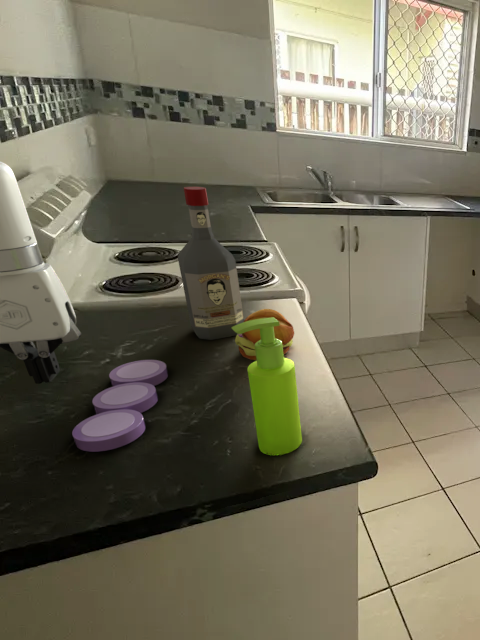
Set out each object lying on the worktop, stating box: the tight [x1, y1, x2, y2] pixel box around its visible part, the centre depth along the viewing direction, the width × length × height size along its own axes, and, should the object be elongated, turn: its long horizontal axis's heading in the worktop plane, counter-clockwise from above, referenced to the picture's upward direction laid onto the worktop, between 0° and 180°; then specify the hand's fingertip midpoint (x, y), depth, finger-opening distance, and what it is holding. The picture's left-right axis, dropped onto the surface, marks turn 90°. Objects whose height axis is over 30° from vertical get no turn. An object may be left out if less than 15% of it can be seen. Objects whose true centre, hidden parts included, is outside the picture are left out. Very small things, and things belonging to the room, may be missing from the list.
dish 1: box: [71, 409, 146, 453], centre depth 69 cm, size 8×8×2 cm
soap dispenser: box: [231, 317, 303, 456], centre depth 66 cm, size 6×7×20 cm
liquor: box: [177, 186, 245, 341], centre depth 97 cm, size 9×9×30 cm
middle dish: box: [92, 382, 159, 415], centre depth 76 cm, size 8×8×2 cm
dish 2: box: [108, 359, 169, 387], centre depth 83 cm, size 8×8×2 cm
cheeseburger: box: [234, 308, 295, 361], centre depth 94 cm, size 10×11×10 cm
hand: (47, 378), depth 70 cm, fingers closed
